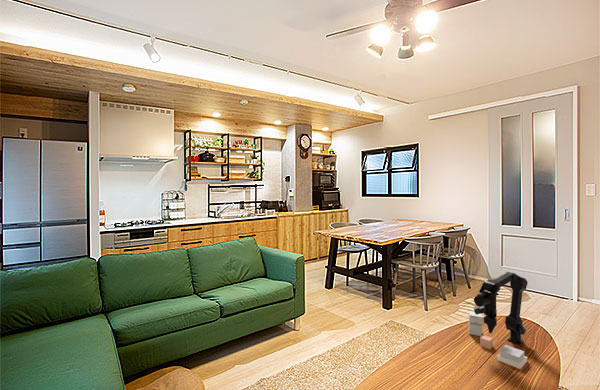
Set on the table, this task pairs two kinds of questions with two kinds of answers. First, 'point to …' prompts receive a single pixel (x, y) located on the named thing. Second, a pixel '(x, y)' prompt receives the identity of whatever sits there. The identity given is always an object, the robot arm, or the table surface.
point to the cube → (486, 342)
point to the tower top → (512, 353)
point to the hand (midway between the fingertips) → (490, 329)
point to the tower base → (512, 363)
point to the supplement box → (475, 324)
